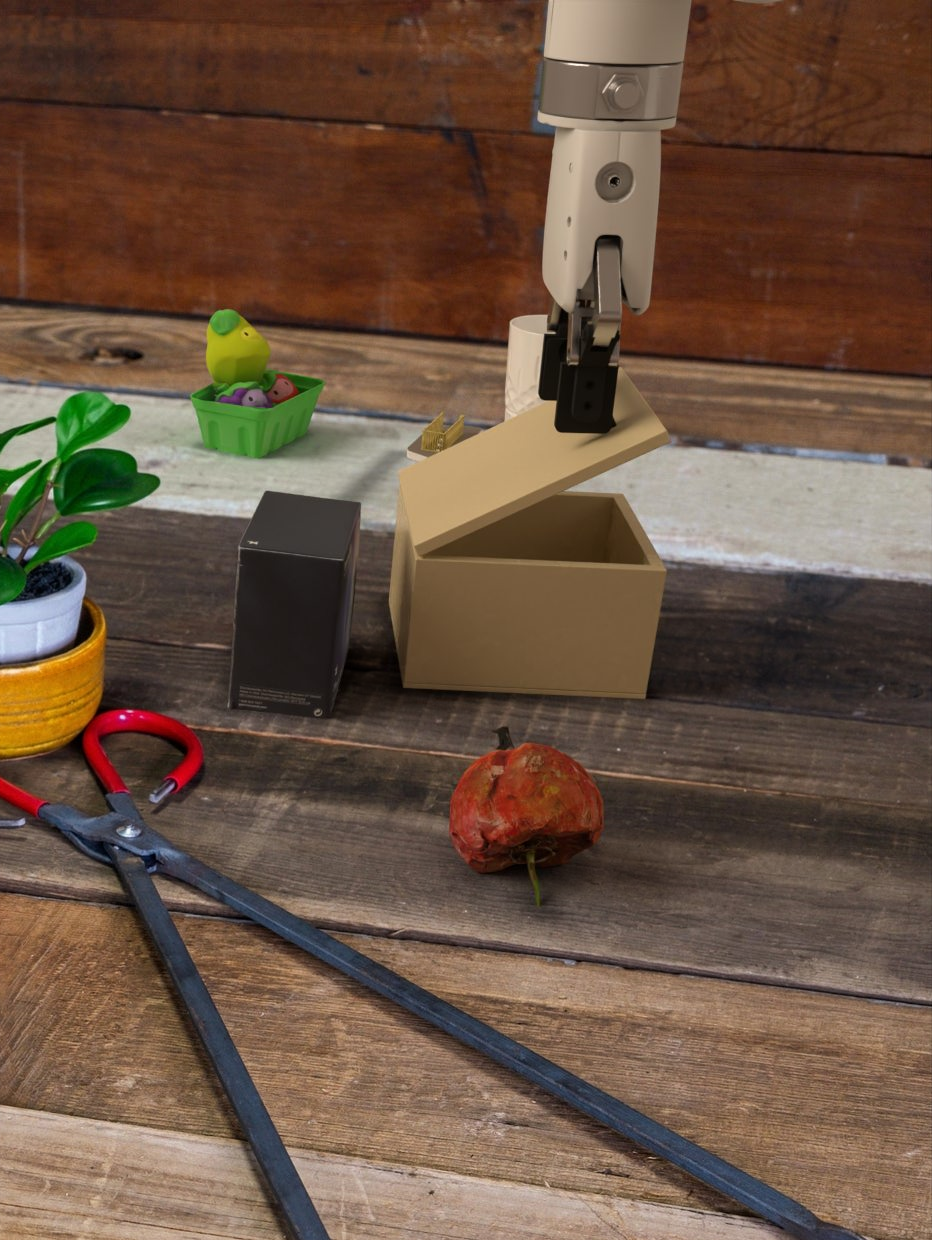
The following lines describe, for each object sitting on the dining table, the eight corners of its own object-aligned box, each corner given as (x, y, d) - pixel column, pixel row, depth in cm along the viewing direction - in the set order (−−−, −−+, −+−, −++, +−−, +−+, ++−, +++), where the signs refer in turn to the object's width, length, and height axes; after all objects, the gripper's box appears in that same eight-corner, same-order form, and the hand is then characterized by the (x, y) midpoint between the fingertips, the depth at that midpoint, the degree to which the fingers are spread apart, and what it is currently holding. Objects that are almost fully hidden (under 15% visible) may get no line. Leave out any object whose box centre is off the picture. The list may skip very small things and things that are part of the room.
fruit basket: (263, 470, 139) (270, 334, 134) (172, 451, 143) (175, 318, 138) (325, 437, 148) (333, 308, 143) (237, 419, 152) (242, 293, 146)
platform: (328, 524, 128) (334, 440, 125) (398, 459, 143) (405, 383, 140) (481, 550, 124) (491, 465, 121) (537, 481, 139) (547, 404, 136)
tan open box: (604, 617, 113) (623, 493, 110) (644, 706, 101) (667, 570, 97) (388, 607, 114) (399, 483, 110) (402, 695, 102) (415, 558, 98)
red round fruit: (605, 937, 83) (582, 753, 87) (626, 886, 76) (600, 689, 81) (454, 944, 83) (438, 760, 88) (461, 893, 77) (444, 698, 81)
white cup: (528, 454, 146) (543, 339, 141) (479, 428, 152) (492, 317, 147) (603, 445, 149) (620, 333, 144) (552, 420, 155) (567, 312, 150)
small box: (335, 728, 97) (348, 558, 92) (224, 716, 98) (231, 547, 93) (353, 654, 106) (366, 497, 102) (251, 644, 107) (259, 487, 103)
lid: (625, 377, 106) (595, 305, 104) (671, 442, 94) (639, 361, 92) (402, 482, 110) (369, 413, 108) (419, 557, 97) (382, 482, 96)
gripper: (713, 115, 85) (665, 460, 92) (647, 81, 100) (610, 379, 108) (563, 112, 85) (528, 457, 93) (520, 79, 100) (493, 376, 108)
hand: (573, 412), depth 100 cm, fingers closed on lid, 6 cm apart
